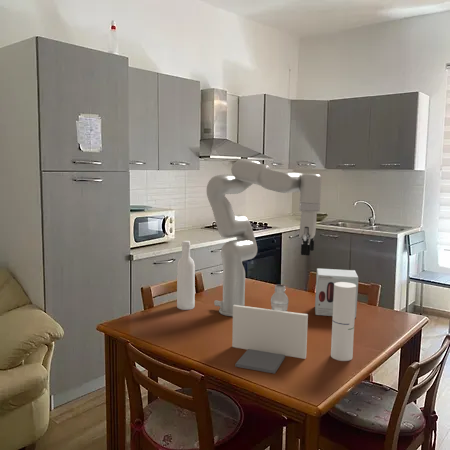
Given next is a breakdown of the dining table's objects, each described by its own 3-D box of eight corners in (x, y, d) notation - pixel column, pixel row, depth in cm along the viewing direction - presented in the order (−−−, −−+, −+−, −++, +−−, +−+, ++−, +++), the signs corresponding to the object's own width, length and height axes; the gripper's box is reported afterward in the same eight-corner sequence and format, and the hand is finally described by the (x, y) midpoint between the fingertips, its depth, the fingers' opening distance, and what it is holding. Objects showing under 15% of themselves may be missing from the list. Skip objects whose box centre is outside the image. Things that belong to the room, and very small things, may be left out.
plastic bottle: (287, 342, 172) (288, 288, 170) (268, 340, 174) (270, 287, 171) (288, 335, 179) (290, 284, 176) (270, 334, 180) (272, 283, 177)
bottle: (198, 306, 213) (198, 241, 209) (187, 311, 206) (187, 243, 202) (184, 303, 217) (184, 239, 213) (173, 307, 210) (173, 241, 206)
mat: (235, 366, 151) (235, 363, 151) (248, 351, 163) (248, 348, 163) (274, 373, 146) (274, 370, 146) (285, 357, 158) (285, 354, 158)
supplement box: (315, 315, 203) (317, 274, 200) (314, 306, 216) (316, 267, 213) (357, 318, 200) (359, 276, 198) (353, 308, 213) (355, 269, 211)
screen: (232, 346, 167) (233, 305, 165) (233, 345, 168) (234, 304, 166) (305, 358, 158) (306, 315, 156) (306, 357, 159) (307, 314, 157)
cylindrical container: (328, 352, 163) (331, 282, 160) (348, 352, 164) (351, 281, 161) (334, 361, 156) (338, 287, 153) (355, 360, 157) (359, 287, 154)
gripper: (303, 204, 184) (301, 247, 187) (295, 209, 168) (293, 256, 171) (322, 205, 182) (320, 249, 184) (316, 210, 166) (314, 258, 168)
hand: (307, 252), depth 178 cm, fingers open, 9 cm apart
